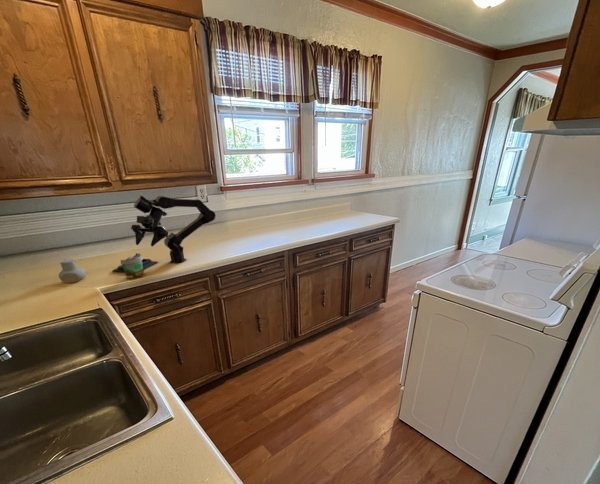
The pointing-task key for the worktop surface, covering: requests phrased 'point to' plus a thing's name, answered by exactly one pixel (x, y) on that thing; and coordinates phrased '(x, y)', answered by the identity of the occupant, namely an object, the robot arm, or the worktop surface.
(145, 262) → the pad
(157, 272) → the worktop surface
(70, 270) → the air freshener
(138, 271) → the food container
